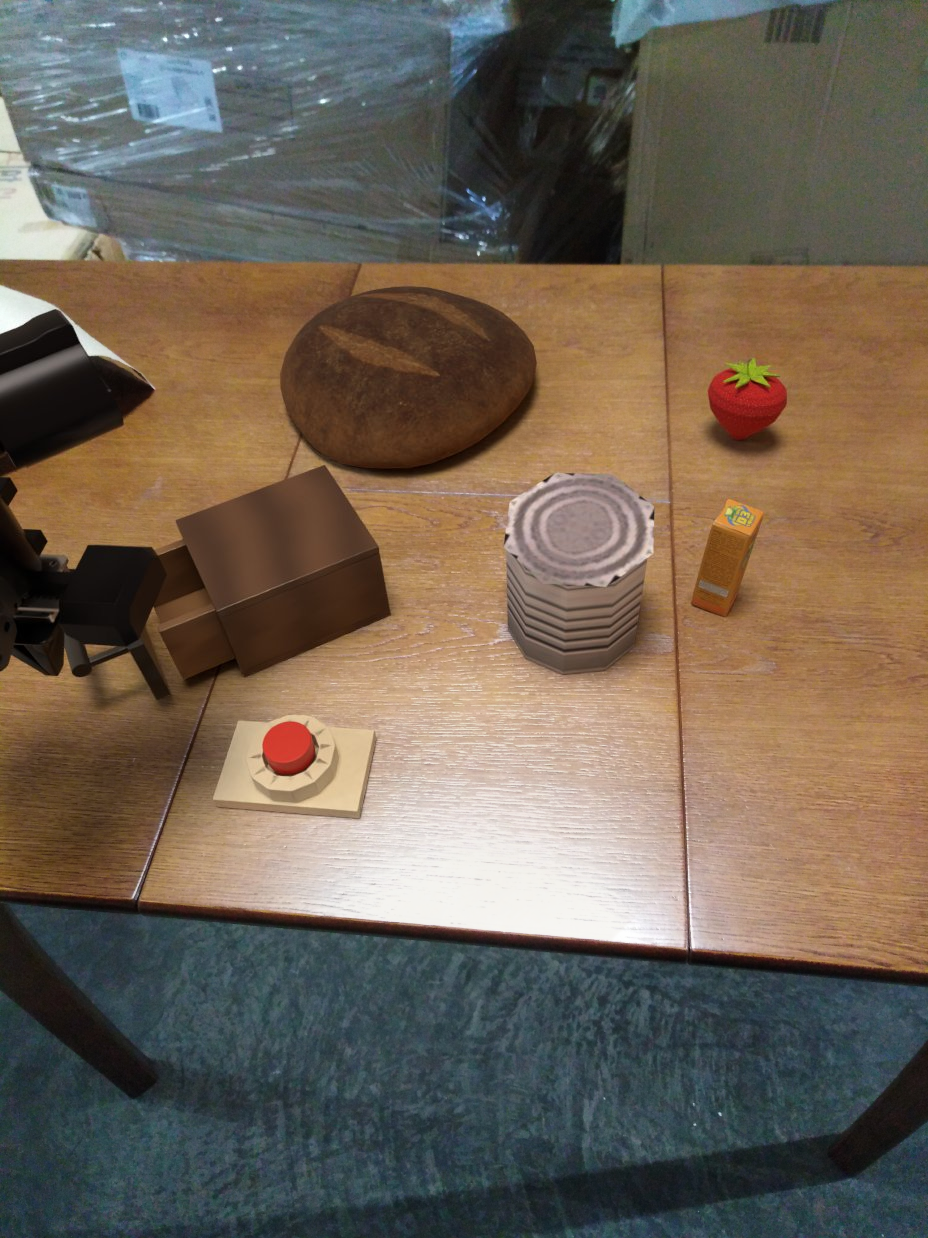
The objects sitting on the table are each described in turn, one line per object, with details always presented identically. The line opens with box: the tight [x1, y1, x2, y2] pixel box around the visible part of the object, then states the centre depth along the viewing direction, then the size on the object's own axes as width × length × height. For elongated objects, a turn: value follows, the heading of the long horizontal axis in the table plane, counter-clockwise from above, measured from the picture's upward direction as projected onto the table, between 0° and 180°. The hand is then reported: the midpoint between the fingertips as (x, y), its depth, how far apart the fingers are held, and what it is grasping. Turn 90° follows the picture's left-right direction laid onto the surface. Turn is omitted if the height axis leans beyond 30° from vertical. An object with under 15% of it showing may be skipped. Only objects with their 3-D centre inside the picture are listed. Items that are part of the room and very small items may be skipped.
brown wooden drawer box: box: [174, 464, 392, 678], centre depth 77 cm, size 14×12×9 cm
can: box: [503, 472, 656, 676], centre depth 72 cm, size 11×11×12 cm
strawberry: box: [707, 357, 788, 441], centre depth 87 cm, size 6×8×10 cm
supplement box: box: [690, 498, 765, 617], centre depth 73 cm, size 3×3×10 cm
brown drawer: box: [64, 538, 235, 701], centre depth 74 cm, size 17×10×7 cm, turn 118°
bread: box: [279, 285, 538, 470], centre depth 95 cm, size 28×27×9 cm
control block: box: [212, 713, 377, 819], centre depth 67 cm, size 11×7×3 cm, turn 83°
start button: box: [262, 721, 315, 775], centre depth 66 cm, size 4×4×2 cm
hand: (55, 670), depth 60 cm, fingers closed
